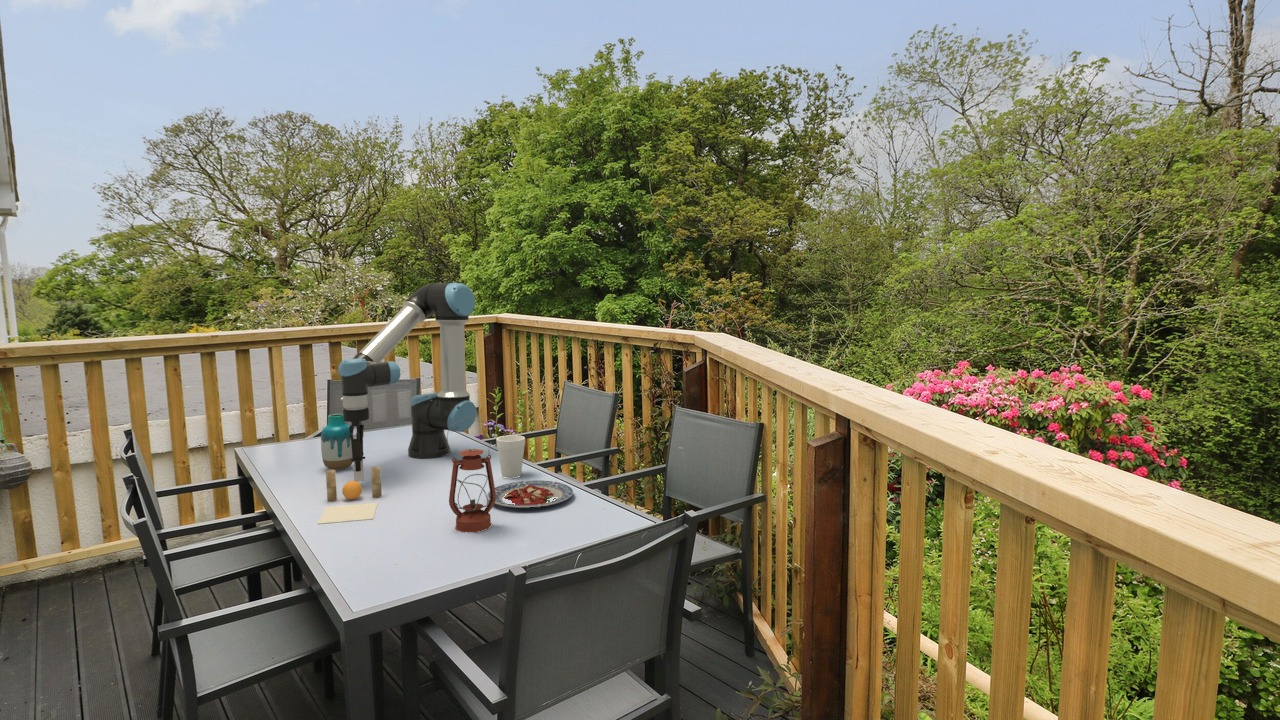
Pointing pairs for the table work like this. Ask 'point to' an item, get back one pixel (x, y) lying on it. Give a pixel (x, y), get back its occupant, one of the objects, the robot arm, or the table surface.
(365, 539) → the table surface
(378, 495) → the right post
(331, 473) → the left post
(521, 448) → the foam cup
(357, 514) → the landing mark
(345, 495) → the ball
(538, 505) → the ceramic plate
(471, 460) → the lantern
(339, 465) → the vase
